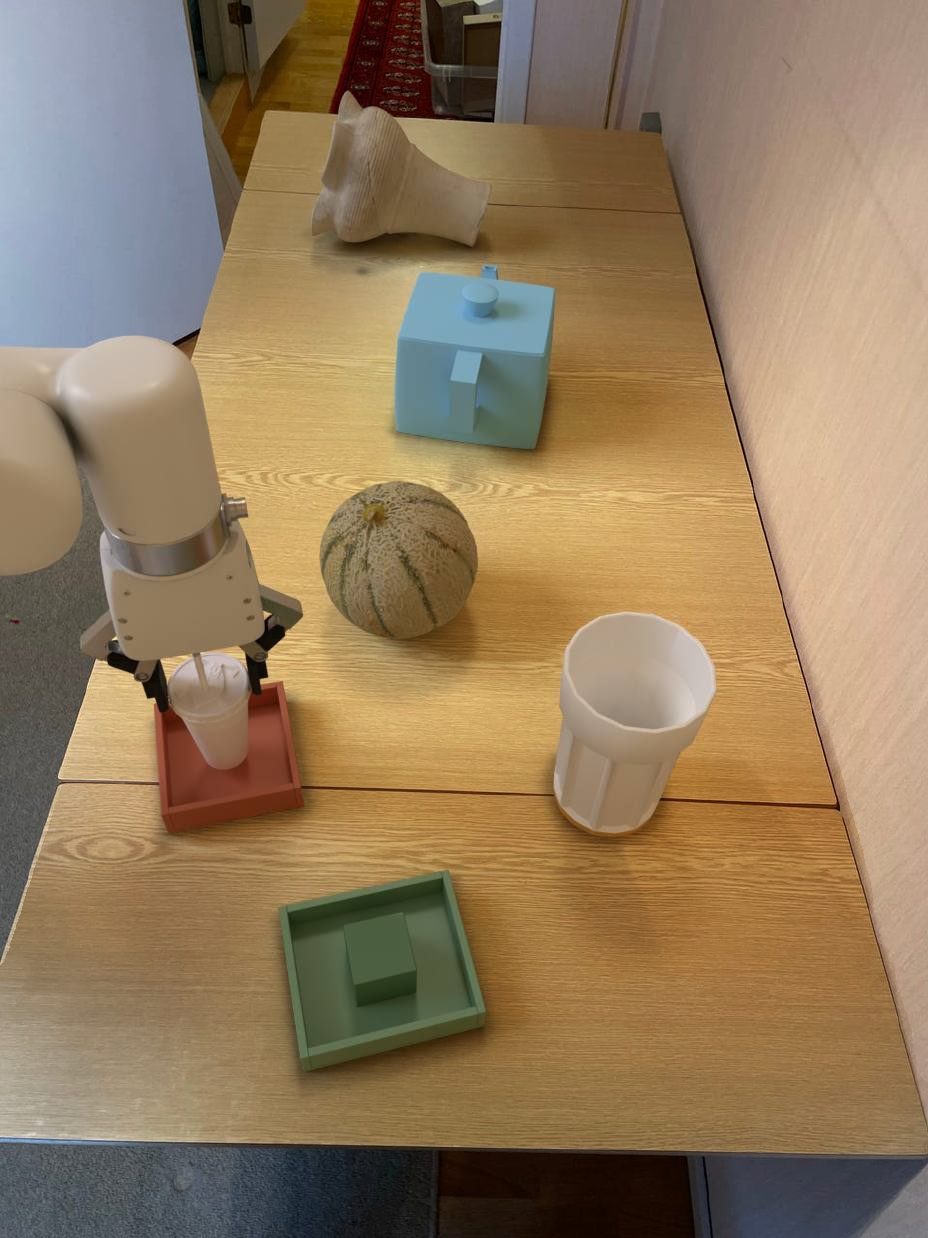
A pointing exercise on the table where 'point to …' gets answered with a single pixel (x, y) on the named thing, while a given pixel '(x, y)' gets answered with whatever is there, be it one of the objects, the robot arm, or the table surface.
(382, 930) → the green block
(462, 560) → the cantaloupe
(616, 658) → the cup
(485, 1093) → the table surface
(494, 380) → the container
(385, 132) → the vase
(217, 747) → the smoothie
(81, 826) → the table surface
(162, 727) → the terracotta tray
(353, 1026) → the green tray
